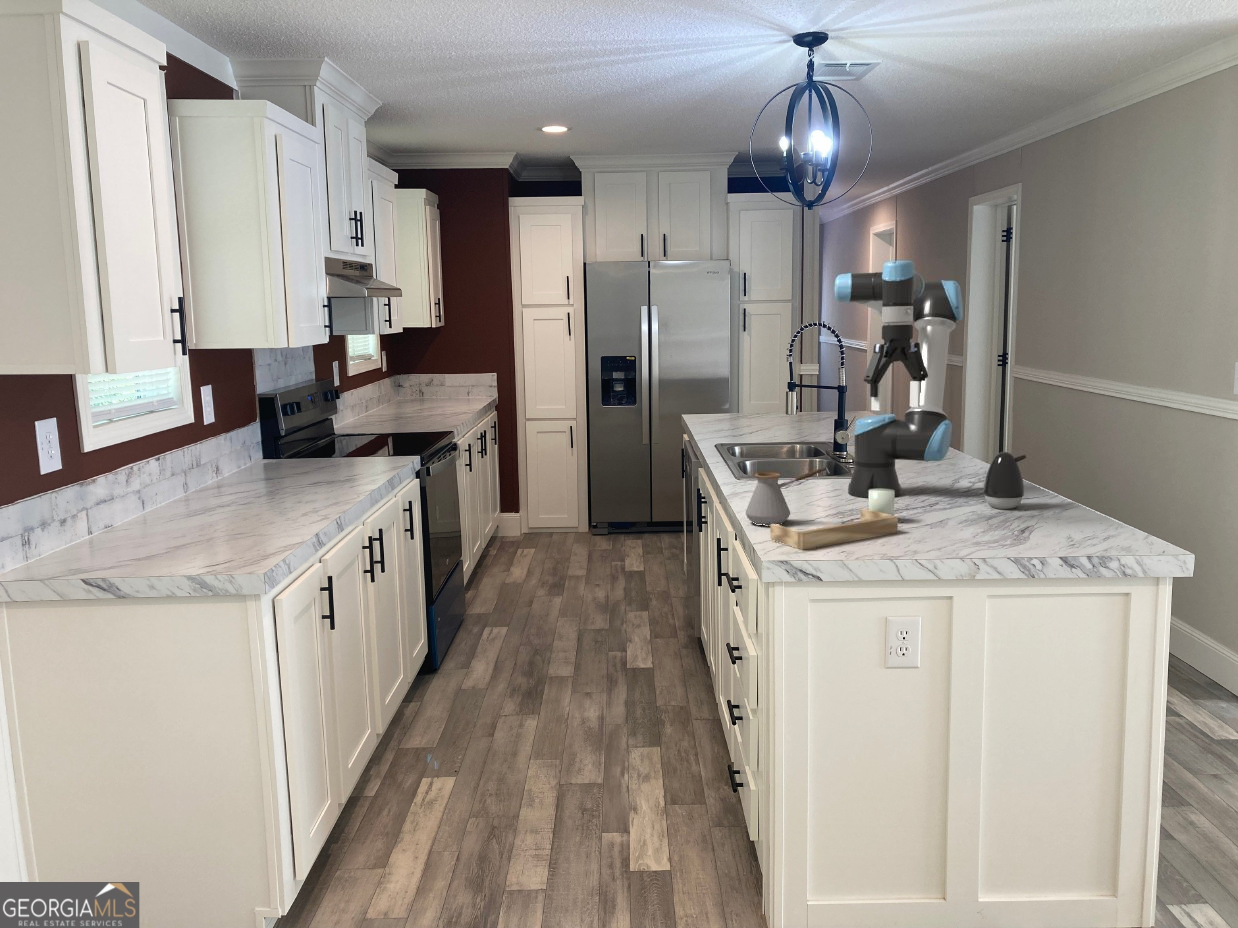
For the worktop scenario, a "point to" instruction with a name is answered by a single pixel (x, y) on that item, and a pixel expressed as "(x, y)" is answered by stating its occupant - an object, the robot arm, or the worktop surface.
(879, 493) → the green jar
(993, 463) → the pump dispenser
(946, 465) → the worktop surface
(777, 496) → the coffee pot
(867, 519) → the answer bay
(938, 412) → the robot arm
